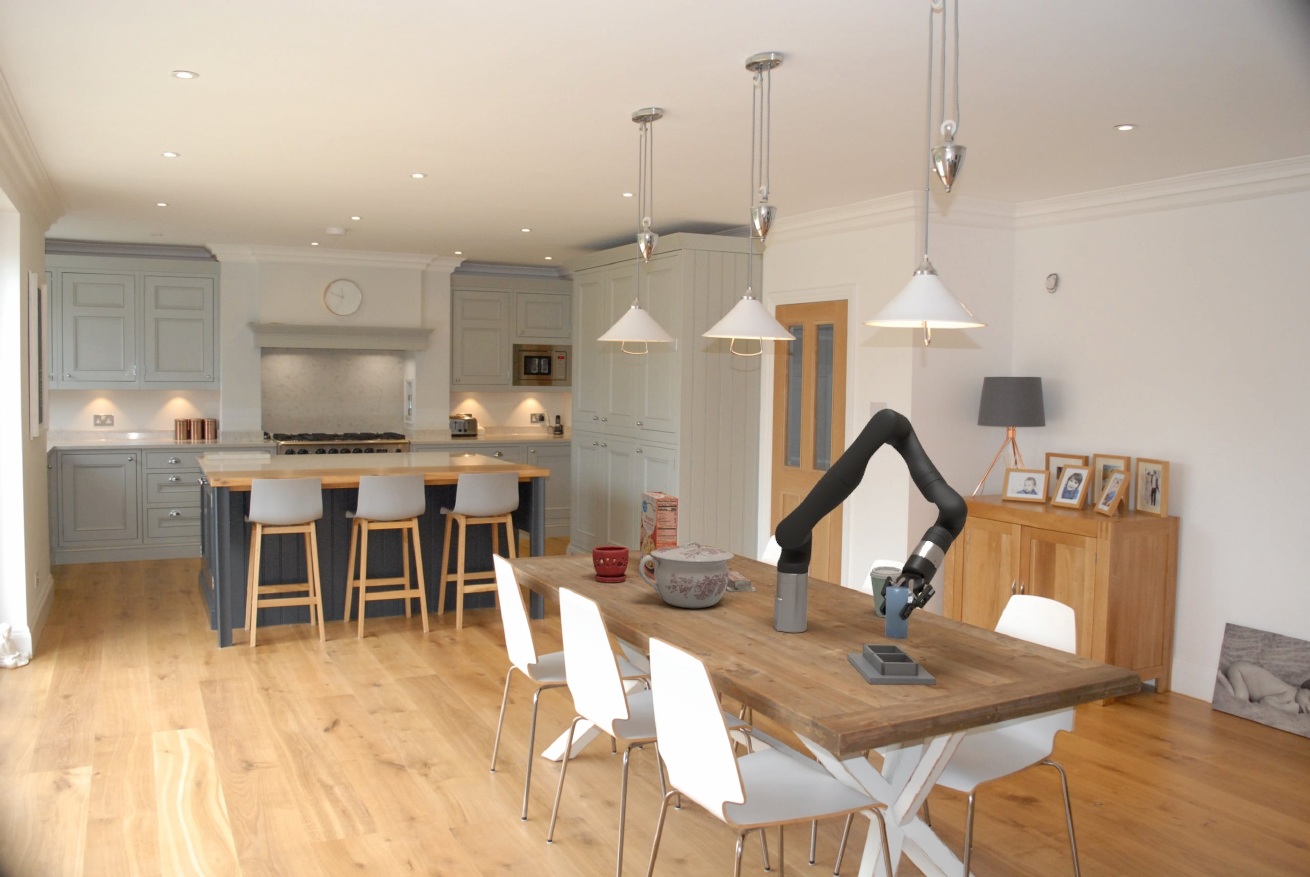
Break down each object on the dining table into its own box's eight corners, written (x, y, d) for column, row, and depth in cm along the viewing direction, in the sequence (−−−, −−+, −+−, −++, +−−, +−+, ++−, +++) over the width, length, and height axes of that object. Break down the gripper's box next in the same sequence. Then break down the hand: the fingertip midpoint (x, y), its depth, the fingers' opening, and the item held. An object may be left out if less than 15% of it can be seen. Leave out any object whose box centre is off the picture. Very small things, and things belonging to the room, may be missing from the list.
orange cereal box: (639, 568, 376) (641, 491, 375) (659, 568, 378) (661, 491, 377) (654, 580, 354) (656, 498, 353) (675, 579, 356) (678, 498, 355)
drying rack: (869, 684, 233) (870, 665, 233) (847, 658, 255) (847, 641, 255) (935, 684, 234) (935, 666, 234) (906, 659, 256) (907, 642, 256)
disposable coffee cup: (903, 620, 300) (905, 572, 299) (868, 618, 302) (870, 570, 301) (902, 613, 310) (904, 566, 310) (867, 610, 312) (869, 564, 312)
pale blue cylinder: (888, 638, 237) (890, 590, 236) (882, 633, 242) (883, 585, 242) (910, 639, 237) (912, 590, 237) (903, 633, 243) (905, 586, 242)
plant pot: (630, 577, 357) (630, 545, 357) (625, 584, 344) (626, 551, 344) (595, 576, 359) (595, 544, 358) (589, 583, 346) (589, 549, 345)
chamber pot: (744, 601, 323) (746, 539, 322) (714, 617, 298) (716, 551, 297) (668, 591, 334) (669, 532, 333) (633, 607, 309) (634, 542, 308)
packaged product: (756, 579, 338) (729, 579, 336) (756, 592, 338) (728, 593, 337) (742, 569, 356) (716, 569, 354) (742, 582, 356) (715, 583, 354)
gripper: (894, 549, 249) (862, 600, 242) (941, 557, 238) (909, 611, 231) (906, 567, 253) (875, 619, 246) (953, 576, 241) (922, 630, 235)
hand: (892, 615), depth 238 cm, fingers closed on pale blue cylinder, 5 cm apart
